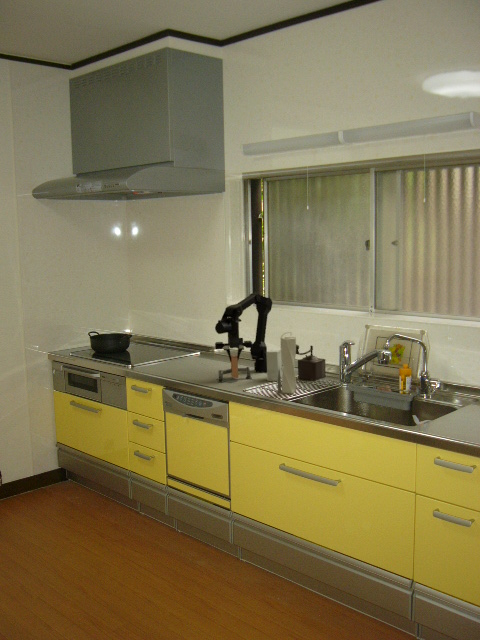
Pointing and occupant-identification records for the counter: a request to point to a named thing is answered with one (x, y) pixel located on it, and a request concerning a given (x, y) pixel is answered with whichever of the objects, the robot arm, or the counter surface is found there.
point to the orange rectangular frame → (234, 366)
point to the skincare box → (273, 364)
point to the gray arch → (222, 372)
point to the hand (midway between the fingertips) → (234, 361)
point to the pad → (228, 380)
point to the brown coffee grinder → (310, 366)
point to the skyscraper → (287, 365)
